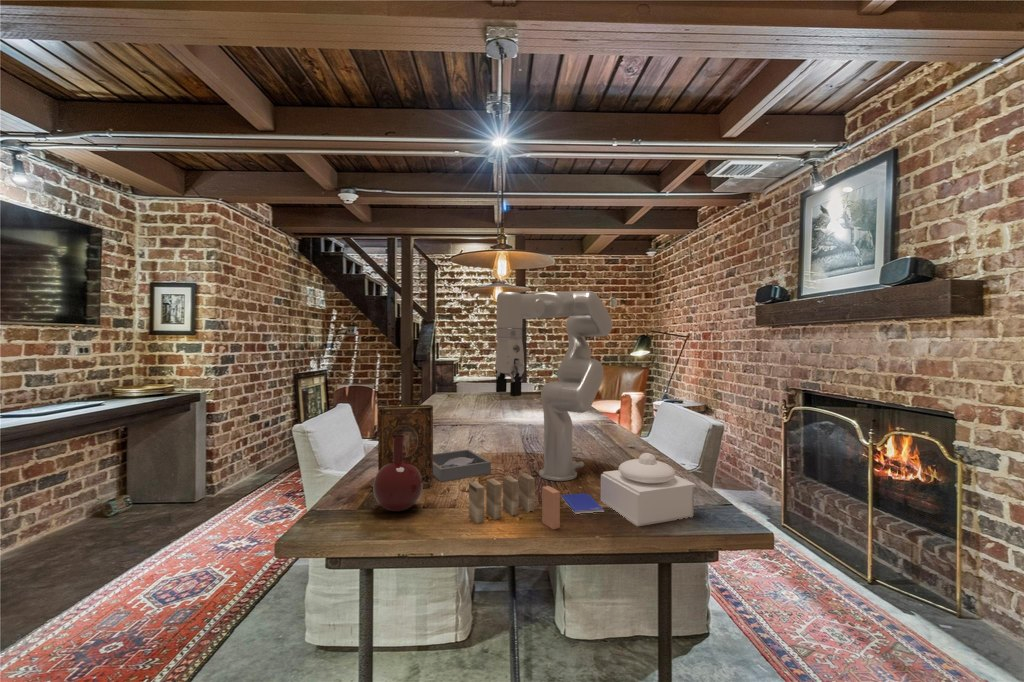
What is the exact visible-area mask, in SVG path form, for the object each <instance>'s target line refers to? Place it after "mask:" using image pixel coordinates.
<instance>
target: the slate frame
mask: <svg viewBox="0 0 1024 682" xmlns="http://www.w3.org/2000/svg"><path fill="white" fill-rule="evenodd" d="M459 457H466V458H470V459H473V458H474V460H475V464H468V465H461V466H455V467H448V468H441V466H443V465H444V464H445V463H446V462H447V461H449V460H450V459H454V458H459ZM485 474H486V475H491V474H492V462H491V461H490V460H489V459H486V458H485V457H483V456H481V455H479V454H478V453H476V452H475V451H472V450H471V449H461V450H455V451H445V452H440V453H439V452H438V453H433V478H435V479H436V480H437V481H439V482H441V483H442V481H443V482H447V481H448V482H449V481H453V480H454V481H455V480H460V478H461V479H466V478H465V477H468V478H472V477H471V476H474V477H478V476H477V475H480V476H484V475H485Z"/></svg>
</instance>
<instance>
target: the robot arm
mask: <svg viewBox="0 0 1024 682" xmlns="http://www.w3.org/2000/svg"><path fill="white" fill-rule="evenodd" d="M563 317H564V318H566V317H567V319H566V322H565V328H566V333H567V340H568V347H567V350H566V352H565V354H564V355H563V357H562V359H561V362H560V364H559V366H558V368H557V370H556V371H557V372H556V377H557V379H558V381H556V380H555V381H554V380H553V381H550V382H546V383H545V384H544V385H543V387H542V389H541V392H540V400H541V405H542V411H543V468H541V469H539V471H538V472H539V473H538V475H539V476H540V478H542V479H545V480H549V481H553V482H554V481H555V482H556V481H557V482H565V481H570V480H574V479H576V478H577V476H578V472H577V471H576V469H577V468H583V467H584V466H585V463H584V461H576V460H573V422H572V421H573V420H572V418H571V416H570V413H577V414H578V413H579V414H583V413H586V412H589V410H590V409H591V407H592V405H593V403H594V401H595V399H596V396H597V394H598V392H599V390H600V388H601V384H602V382H603V379H604V367H603V364H602V362H601V361H600V360H597V359H595V358H591V356H592V350H591V349H592V348H591V347H590V345H589V343H588V341H587V340H586V337H593V338H594V337H600V338H601V337H606V336H608V335H609V334H611V332H612V330H613V320H612V317H611V315H610V313H609V311H608V309H607V308H606V306H605V304H604V303H603V301H602V300H601V298H600V297H599V296H598V294H597V293H595V292H594V291H592V290H576V291H545V292H537V293H520V292H517V291H503V292H500V293H498V294H497V296H496V329H495V330H496V331H495V332H496V334H495V335H496V336H495V340H497V343H496V354H495V363H494V368H495V372H494V373H495V379H496V381H495V382H496V383H495V391H496V393H506V392H507V387H508V386H507V383H508V382H507V381H508V380H507V378H506V377H507V376H508V375H509V376H510V379H511V381H510V388H509V390H510V391H509V393H510V394H509V395H510V396H511V397H521V396H522V382H523V377H524V373H525V353H524V344H523V343H524V342H523V319H524V320H526V319H527V320H531V319H532V320H533V319H537V318H538V319H554V318H563ZM569 412H570V413H569Z"/></svg>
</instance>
